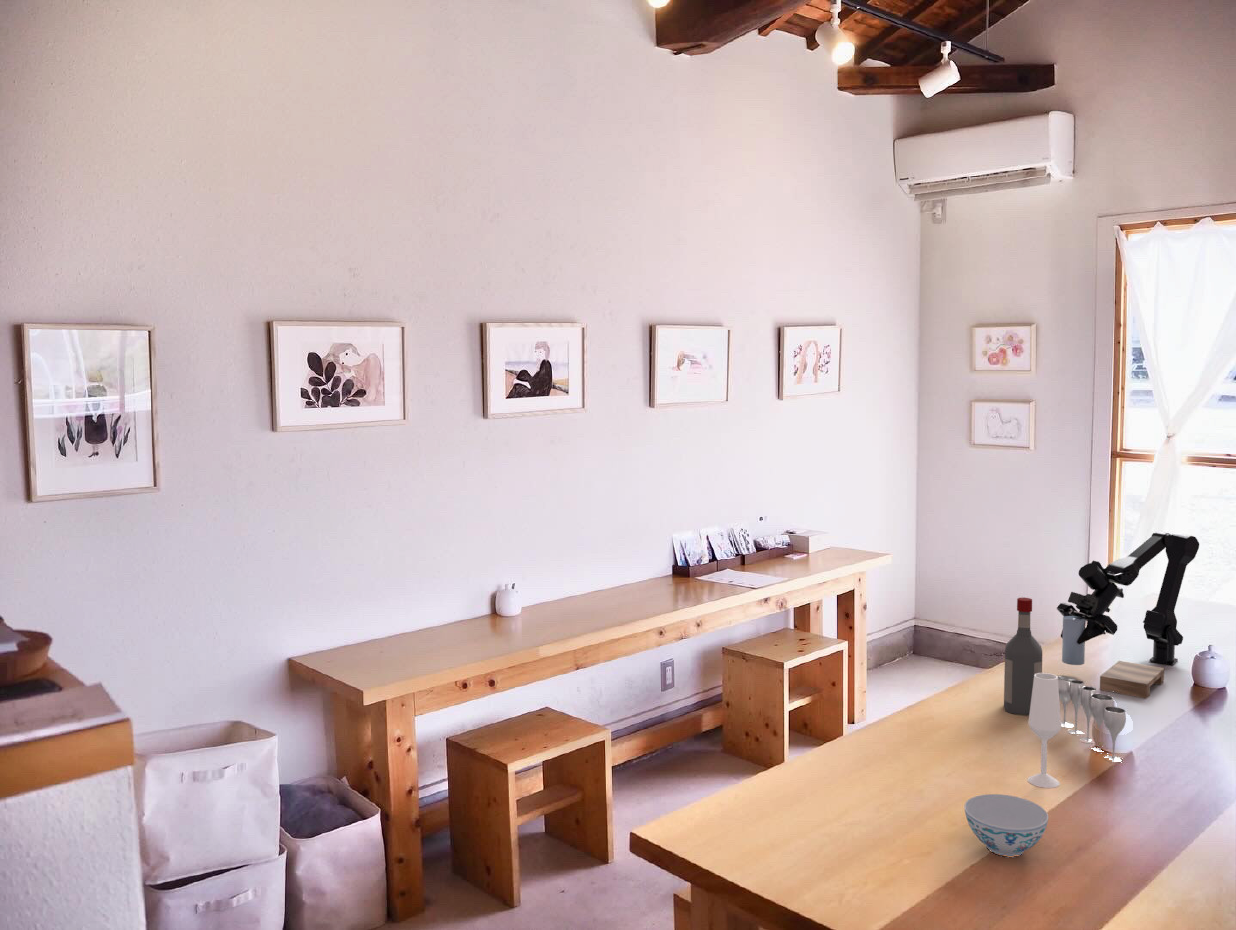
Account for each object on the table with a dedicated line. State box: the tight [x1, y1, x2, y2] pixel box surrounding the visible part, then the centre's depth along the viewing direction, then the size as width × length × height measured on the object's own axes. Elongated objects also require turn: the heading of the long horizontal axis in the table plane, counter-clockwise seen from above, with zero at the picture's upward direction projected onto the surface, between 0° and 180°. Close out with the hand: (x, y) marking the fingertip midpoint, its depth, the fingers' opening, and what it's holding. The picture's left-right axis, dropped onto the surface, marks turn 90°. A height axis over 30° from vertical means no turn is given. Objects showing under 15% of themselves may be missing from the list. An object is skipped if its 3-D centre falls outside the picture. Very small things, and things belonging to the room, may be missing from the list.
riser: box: [1099, 660, 1165, 699], centre depth 289 cm, size 18×12×4 cm, turn 139°
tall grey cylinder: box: [1061, 616, 1086, 666], centre depth 298 cm, size 6×6×13 cm
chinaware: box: [964, 793, 1049, 856], centre depth 196 cm, size 15×15×8 cm
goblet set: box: [1056, 675, 1127, 763], centre depth 249 cm, size 28×6×13 cm, turn 4°
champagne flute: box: [1027, 672, 1062, 789], centre depth 225 cm, size 7×7×24 cm
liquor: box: [1003, 597, 1043, 716], centre depth 270 cm, size 9×9×30 cm
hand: (1069, 640), depth 298 cm, fingers closed on tall grey cylinder, 6 cm apart
